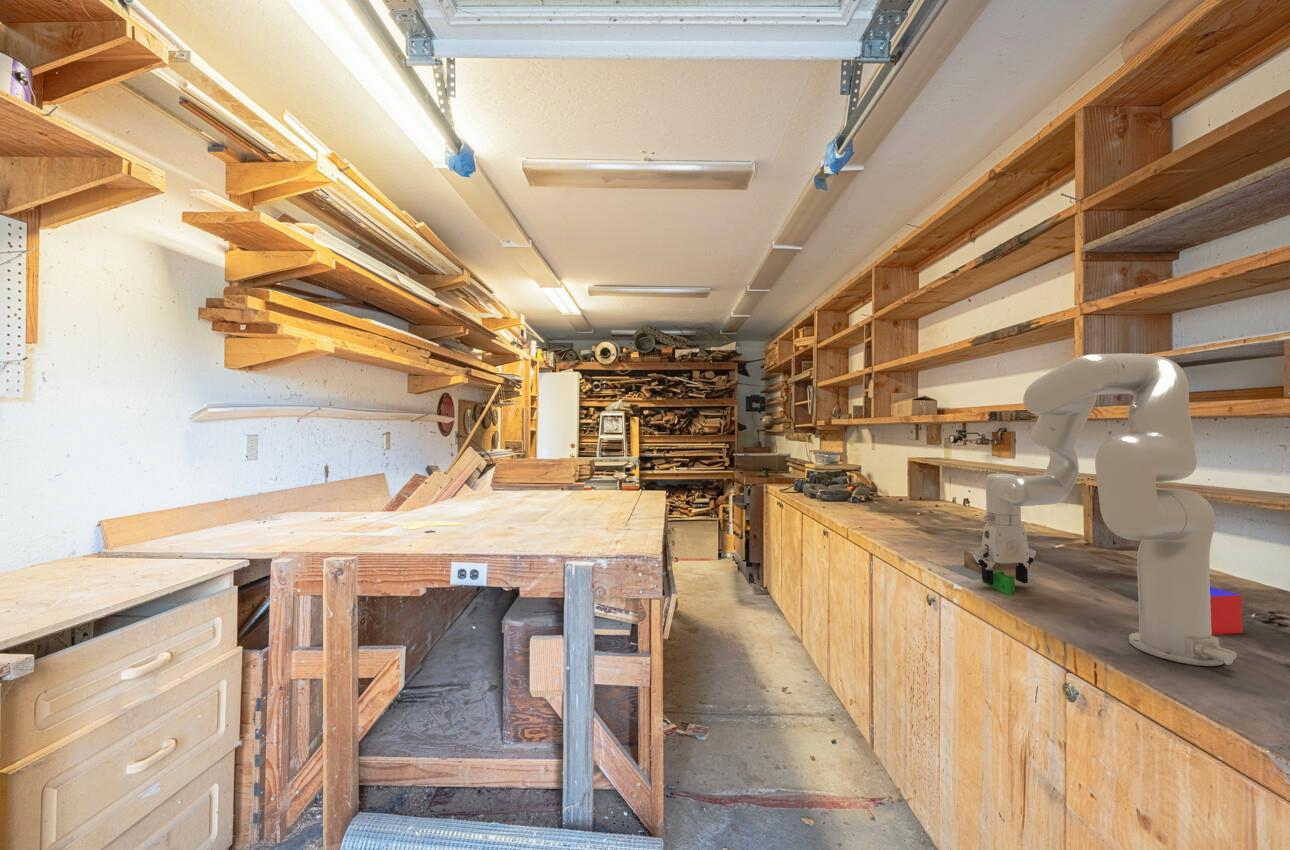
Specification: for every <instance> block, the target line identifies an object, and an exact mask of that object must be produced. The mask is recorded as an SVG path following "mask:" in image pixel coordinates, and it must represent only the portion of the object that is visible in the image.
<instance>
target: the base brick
mask: <svg viewBox="0 0 1290 850" xmlns="http://www.w3.org/2000/svg"><path fill="white" fill-rule="evenodd" d="M976 550H977V549H975V550H963V555H964V556H963V557H964V558H963V562H964V564H963V565H964V567H966V568H969V569H971V570H974V571H976V572H979V573H981V574H982V568H981V567H980V566H979V565H978V564H977V563H976V561H975V559H974V557H973V555H972V553H973V552H974V551H976ZM981 558H982V560H983V559H984V558H983V555H982V556H981ZM988 563H989V561H988ZM988 563H987V564H988ZM1017 565H1018V564H1017V563H1012V564H998V563H995V564H994V566H993V567H992V568H991V570H993V571H1004V575H1008V576H1014V577H1015V579H1016V566H1017Z"/></svg>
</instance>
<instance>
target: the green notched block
mask: <svg viewBox="0 0 1290 850" xmlns="http://www.w3.org/2000/svg"><path fill="white" fill-rule="evenodd" d="M1015 580H1016V578H1015V577H1014V576H1008V575H1004V571H993V585H989V584H987V583H985V584H986V585H987V586H989V587H991V588H992V589H995V590H996V591H999V592H1001V593H1002V594H1004V595H1006V596H1012V592H1016V583H1015ZM981 582H983V581H981ZM983 583H984V582H983Z"/></svg>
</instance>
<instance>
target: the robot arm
mask: <svg viewBox="0 0 1290 850" xmlns="http://www.w3.org/2000/svg"><path fill="white" fill-rule="evenodd" d="M1189 388H1190V387H1189V381H1188V378H1187V374H1186V373H1185V370H1184V369H1183V368H1182V367H1181V365H1179V364H1178V363H1177V362H1175V361H1173V360H1171V359H1170V358H1168V357H1167V358H1166V357H1162V356H1160V355H1154V354H1147V353H1125V352H1123V353H1091V354H1084V355H1082V356H1079V357H1075V358H1074V359H1072V360H1069V361H1068V362H1066V363H1064V364H1063V365H1060V366H1058V367H1057V368H1054V369H1053V370H1051V371H1049V372H1047V373H1046V374H1043V375H1042V376H1039V378H1037V379H1035V380H1034V381H1033V382H1031V384H1029V385H1028V387H1027V388H1026V390H1025V391H1024V394H1023V401H1022V402H1023V406H1024V408H1025V409H1026V410H1027V412H1029V413H1031V414H1032V415H1036V416H1038V417H1037V420H1036V423H1035V424H1034V426H1033V429H1032V431H1031V433H1030V439H1031V441H1032V442H1033V443H1034V444H1036V445H1037V446H1039V447H1041V448H1043V449H1045V450H1047V451H1048V453H1049V461H1048V464H1047V467H1046V469H1045V472H1044V473H1043V474H1041V475H1040V474H1039V475H1038V474H1037V475H1020V476H1018V475H1016V474H1011V473H1003V472H1002V473H997V472H996V473H990V474H988V475H987V476H986V477H985V503H986V506H985V507H986V508H985V509H986V515H984V516H983V521H986V523H984V527H983V531H982V538H981V539H982V541H981V547H980V548H978V549H975V550H976V551H974V552H973V553H972V555H973V557H974V559H975V561H976V563H977V564H978V565H979V566H980V567H981V568H982V579H981V580H982V581H983V583H984V584H986V583H987V584H989V585H993V570H991V568H992V567H993V566H994V564H995V563H998V564H1012V563H1017V566H1016V578H1015V580H1016V581H1018V582H1020V583H1023V584H1028V583H1029V580H1028V579H1029V577H1028V573H1029V572H1028V571H1029V570H1028V569H1030V567H1031V564H1032V563H1033V562H1034V558H1035V556H1036V554H1037V551H1036V550H1034V549H1032V548H1030V547H1029V541H1028V535H1027V531H1026V528H1025V526H1024V525H1023V524H1022V507H1029V506H1030V507H1034V506H1049V505H1050V506H1051V505H1057V504H1060V503H1061V502H1062V501H1064V500H1065V499H1066V498H1067V496H1069V494H1070V493H1071V491H1072V488H1073V487H1074V485H1075V483H1076V481H1077V479H1078V477H1079V469H1080V468H1079V459H1078V455H1077V454H1076V451H1075V445H1076V444H1077V441H1078V439H1079V437H1080V435H1081V433H1082V431H1083V428H1084V427H1085V424H1086V422H1087V420H1088V419H1089V416H1090V414H1091V412H1092V410H1093V409H1094V407H1095V404H1096V401H1097V399H1098V395H1133V396H1134V397H1133V399H1132V401H1131V402H1130V405H1129V408H1128V413H1127V420H1128V424H1129V433H1124V434H1118V435H1114V436H1112V437H1110V438H1107V439H1106V440H1105V441H1104V442H1103V443H1101V445H1100V446H1099V448H1098V449H1097V452H1096V454H1095V460H1094V465H1095V466H1094V467H1095V477H1096V485H1097V486H1096V487H1097V492H1098V493H1097V494H1098V503H1099V504H1098V505H1099V510H1100V514H1101V518H1102V519H1103V523H1105V526H1106V527H1107V528H1108V529H1109V530H1110V531H1111V532H1112V533H1113V534H1115V536H1118V537H1120V538H1122V539H1125V540H1129V541H1130V540H1131V541H1140V543H1139V546H1138V551H1137V557H1136V558H1137V559H1136V560H1137V562H1136V563H1137V595H1138V597H1137V598H1138V599H1137V600H1138V622H1139V623H1138V624H1139V625H1138V627H1139V629H1138V630H1139V632H1138V631H1137V632H1132V633H1130V634H1128V642H1129V643H1130V645H1131V646H1133V647H1134V648H1136V649H1138V650H1139V651H1142V652H1144V653H1146V654H1149V655H1151V656H1154V657H1157V658H1161V659H1165V660H1168V661H1173V662H1177V663H1180V664H1186V665H1193V666H1203V667H1216V666H1217V667H1218V666H1221V665H1224V664H1225V665H1230V666H1231V665H1232V664H1233V663H1234V661H1235V659H1236V658H1237V653H1236V652H1235V651H1233V650H1230V649H1227V648H1224V647H1221V646H1220V637H1217V636H1215V635H1212V634H1211V605H1210V587H1211V582H1210V581H1211V580H1210V576H1211V575H1210V574H1211V573H1210V572H1211V571H1210V555H1211V553H1210V552H1211V547H1212V539H1213V535H1214V532H1215V528H1216V515H1215V510H1214V509H1213V507H1212V505H1211V504H1210V502H1209V501H1207V499H1206V498H1204V497H1203V496H1202V495H1200V494H1198V493H1196V492H1194V491H1191V490H1188V489H1183V488H1176V487H1175V488H1173V487H1166V488H1165V487H1163V488H1157V483H1158V482H1160V483H1161V482H1174V481H1179V480H1183V479H1186V478H1188V477H1190V476H1191V475H1192V474H1194V472H1195V470H1196V468H1197V460H1198V459H1197V452H1196V451H1197V450H1196V445H1195V438H1194V431H1193V430H1194V429H1193V423H1192V421H1193V420H1192V418H1191V412H1190V390H1189ZM982 555H983V558H984V559H983V560H982V558H981V556H982ZM988 561H989V563H988ZM987 563H988V564H987ZM982 581H981V582H982ZM987 584H986V585H987ZM989 585H988V586H989Z"/></svg>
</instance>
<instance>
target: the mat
mask: <svg viewBox="0 0 1290 850" xmlns="http://www.w3.org/2000/svg"><path fill="white" fill-rule="evenodd" d="M940 567H942V568H944V569H946V570H949V571H950V572H954V573H956V574H958V575H961V576H962V577H966V578H968V579H970V580H973V581H976V580H977V581H978V580H980V581H981V580H982V574H981V573H979V572H976V571H974V570H971V569H969V568H966V567H964V564H957V565H956V564H955V565H940ZM1028 578H1039V576H1038V575H1035V574H1032V573H1030V572H1028Z"/></svg>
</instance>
